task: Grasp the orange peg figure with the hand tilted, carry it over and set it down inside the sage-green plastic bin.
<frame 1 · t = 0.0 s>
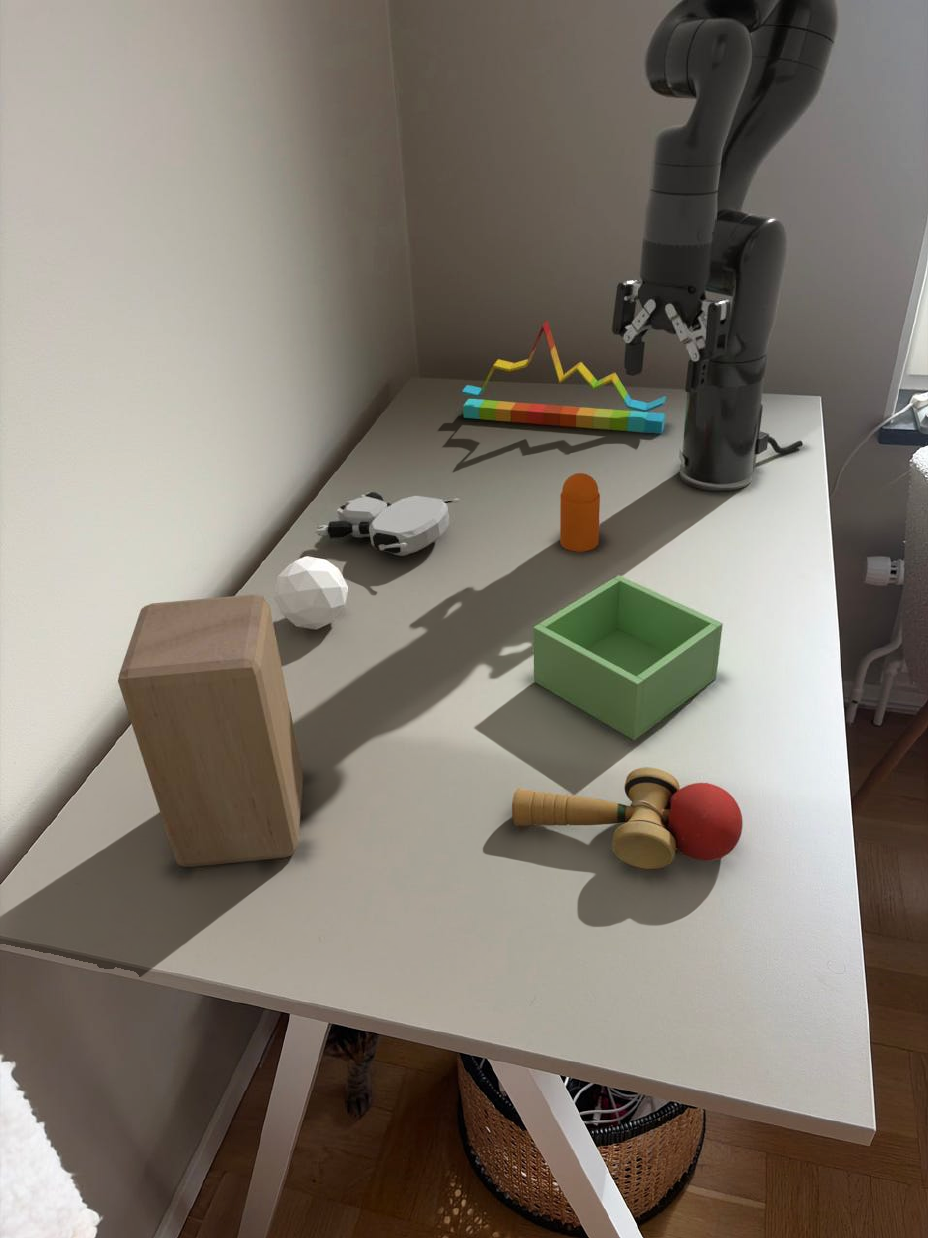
hand: (662, 382, 113), 17 cm above the table, tool pointing down, fingers open, 8 cm apart
orange peg figure: (579, 542, 118), on the table
bin: (624, 679, 96), on the table
block: (244, 823, 83), on the table
chart: (562, 422, 148), on the table
robot toy: (390, 539, 121), on the table
geometric ball: (316, 622, 107), on the table
kendama: (622, 839, 79), on the table
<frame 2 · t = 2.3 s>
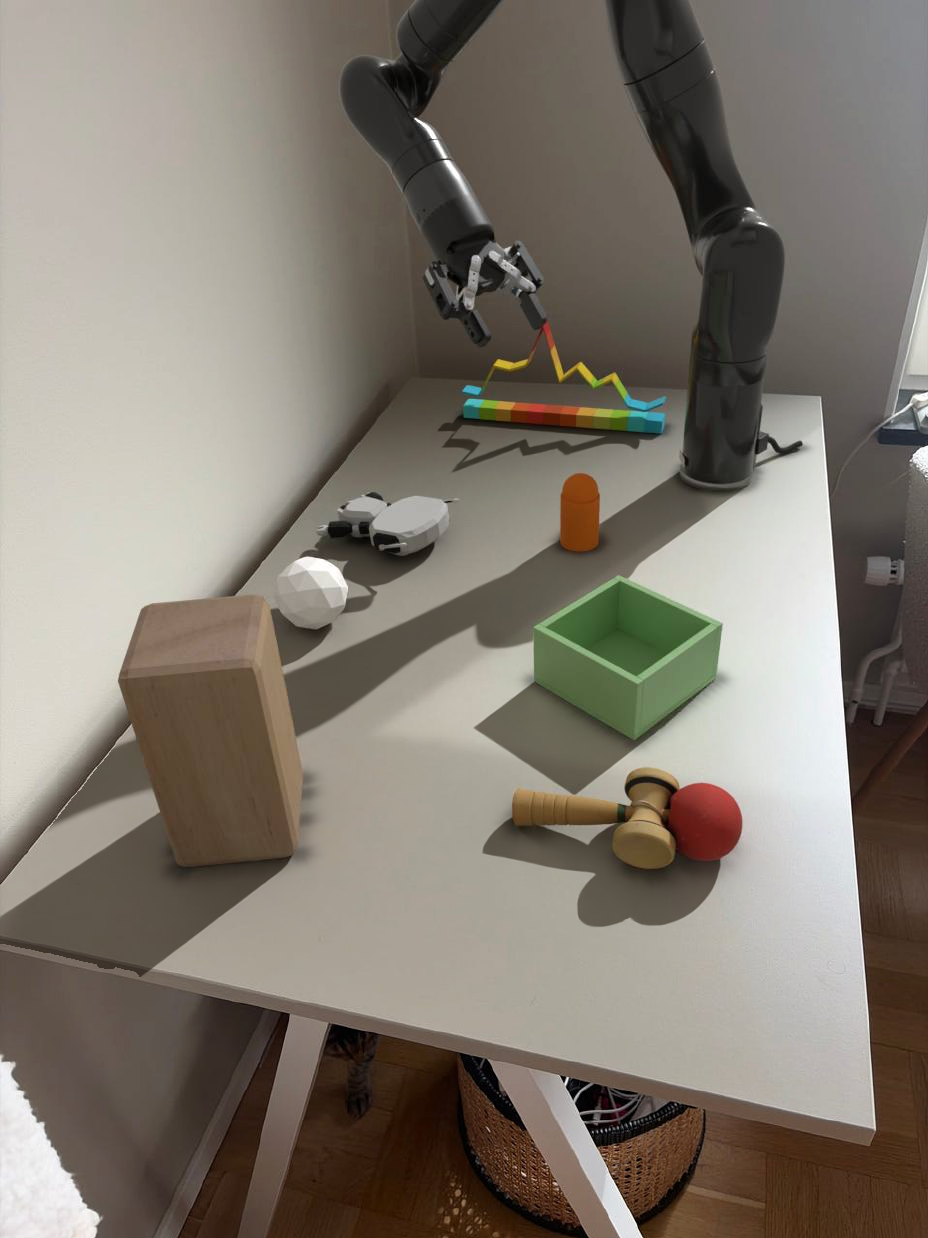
hand: (514, 334, 112), 23 cm above the table, tool tilted 45°, fingers open, 8 cm apart
nothing on the table moved.
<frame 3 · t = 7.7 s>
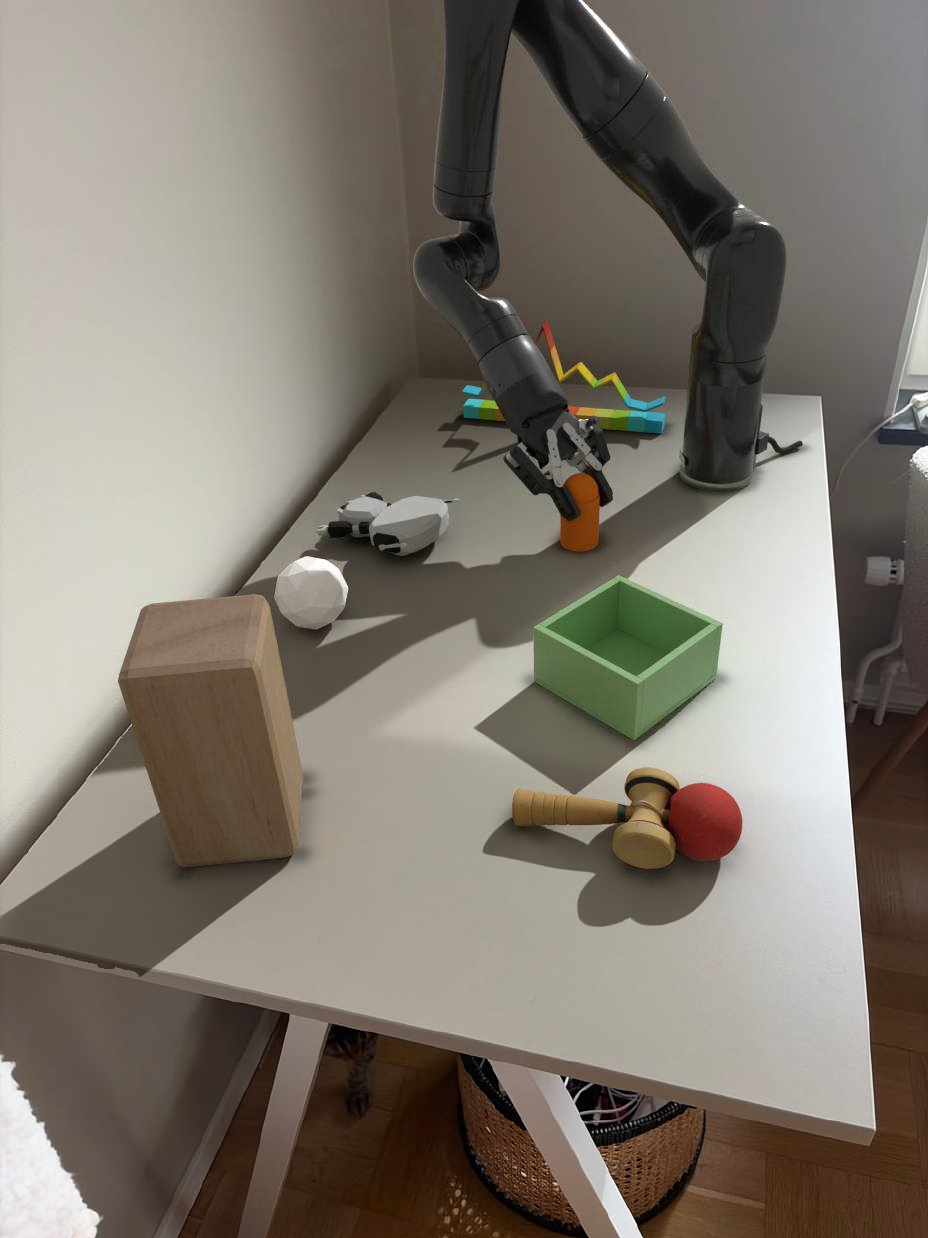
hand: (591, 510, 114), 5 cm above the table, tool tilted 45°, fingers closed on orange peg figure, 4 cm apart
orange peg figure: (579, 542, 118), on the table, touching gripper
everything else where it was.
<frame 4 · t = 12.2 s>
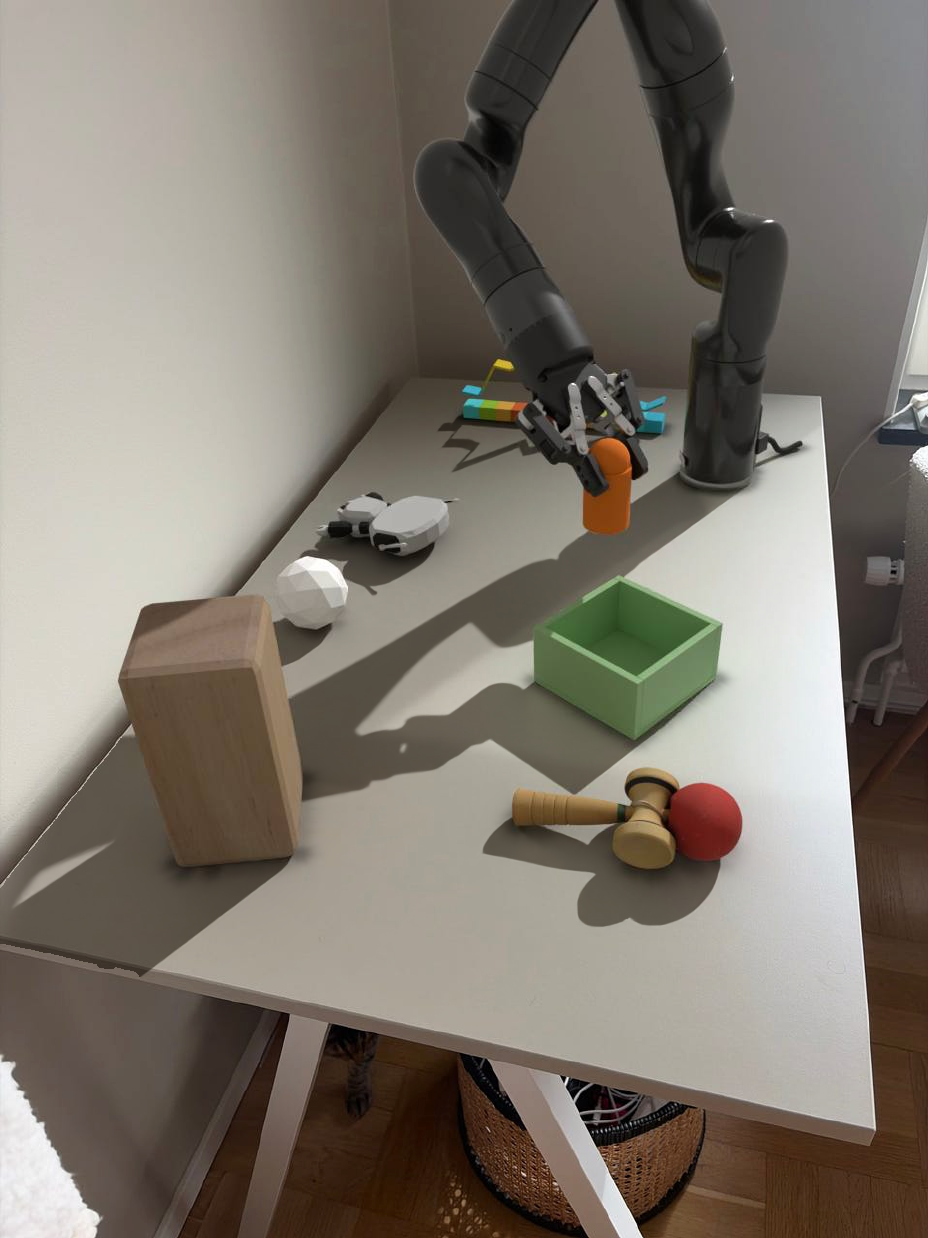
hand: (621, 483, 93), 17 cm above the table, tool tilted 45°, fingers closed on orange peg figure, 4 cm apart
orange peg figure: (605, 523, 97), point 12 cm above the table, touching gripper
everything else where it was.
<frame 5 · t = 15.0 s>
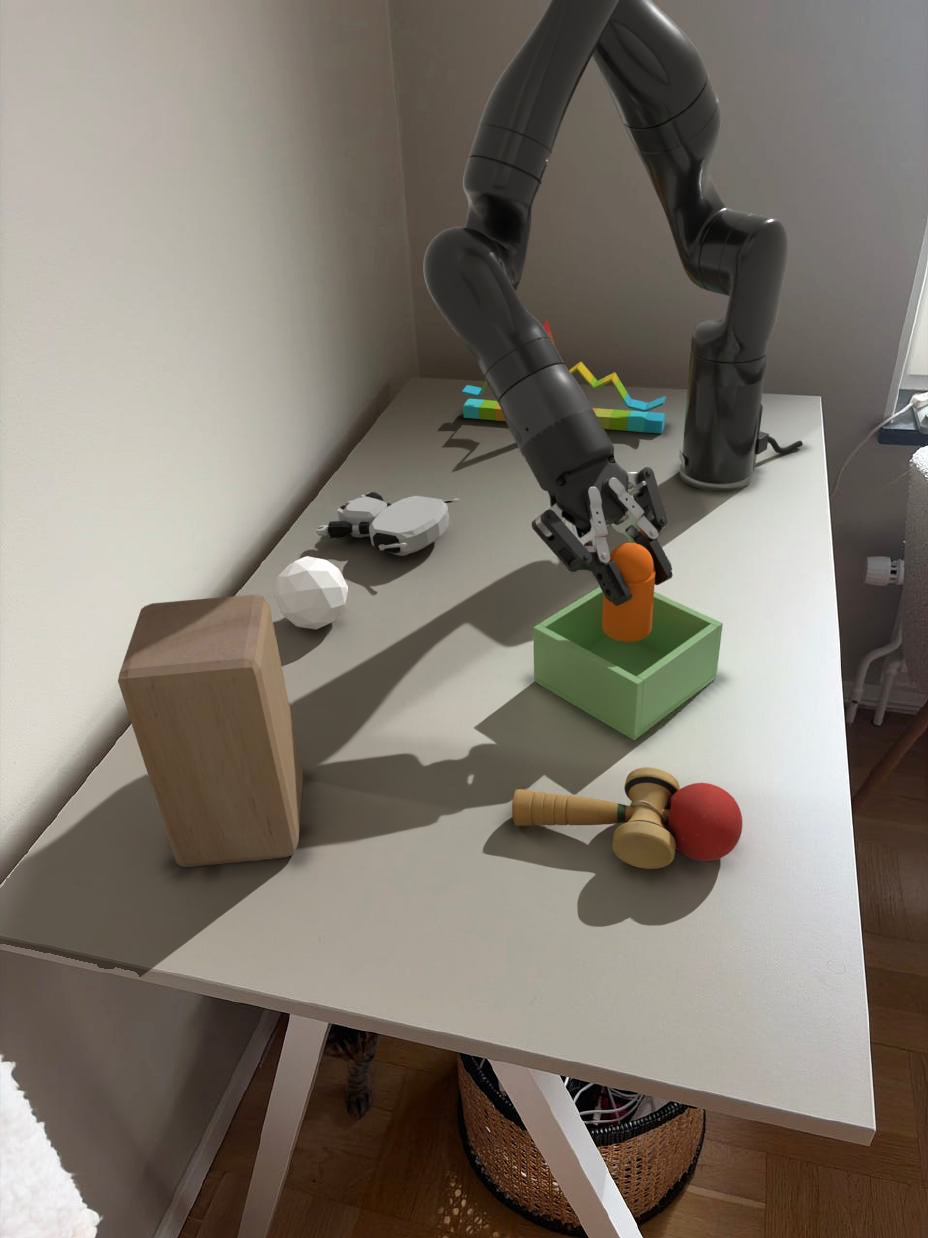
hand: (644, 590, 88), 11 cm above the table, tool tilted 45°, fingers closed on orange peg figure, 4 cm apart
orange peg figure: (626, 627, 92), point 6 cm above the table, touching gripper
everything else where it was.
when the fingers open (6 cm above the table, at t = 17.1 s): orange peg figure stays where it is, resting on bin.
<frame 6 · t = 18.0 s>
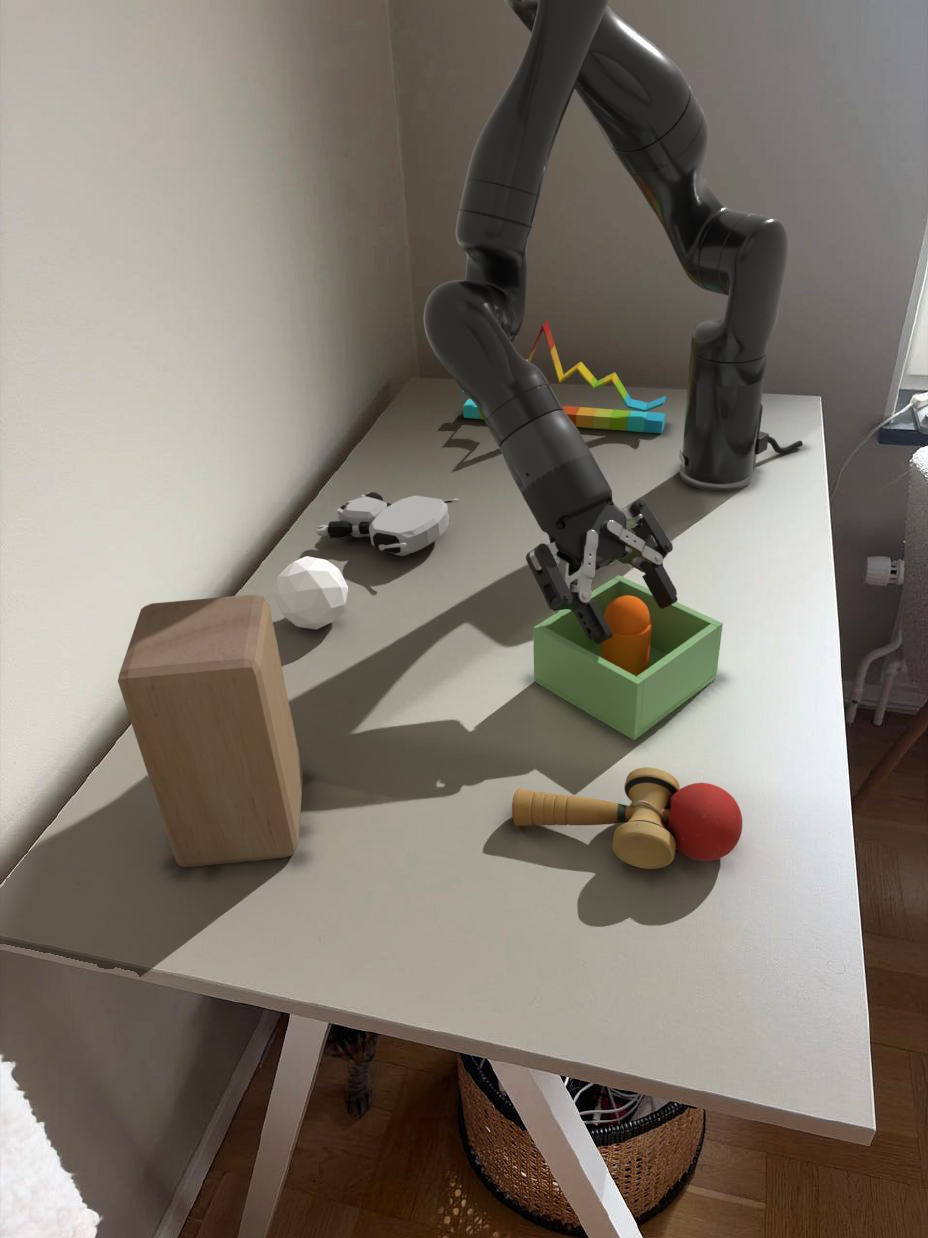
hand: (638, 622, 91), 8 cm above the table, tool tilted 45°, fingers open, 8 cm apart
orange peg figure: (623, 675, 96), point 1 cm above the table, touching bin
everything else where it was.
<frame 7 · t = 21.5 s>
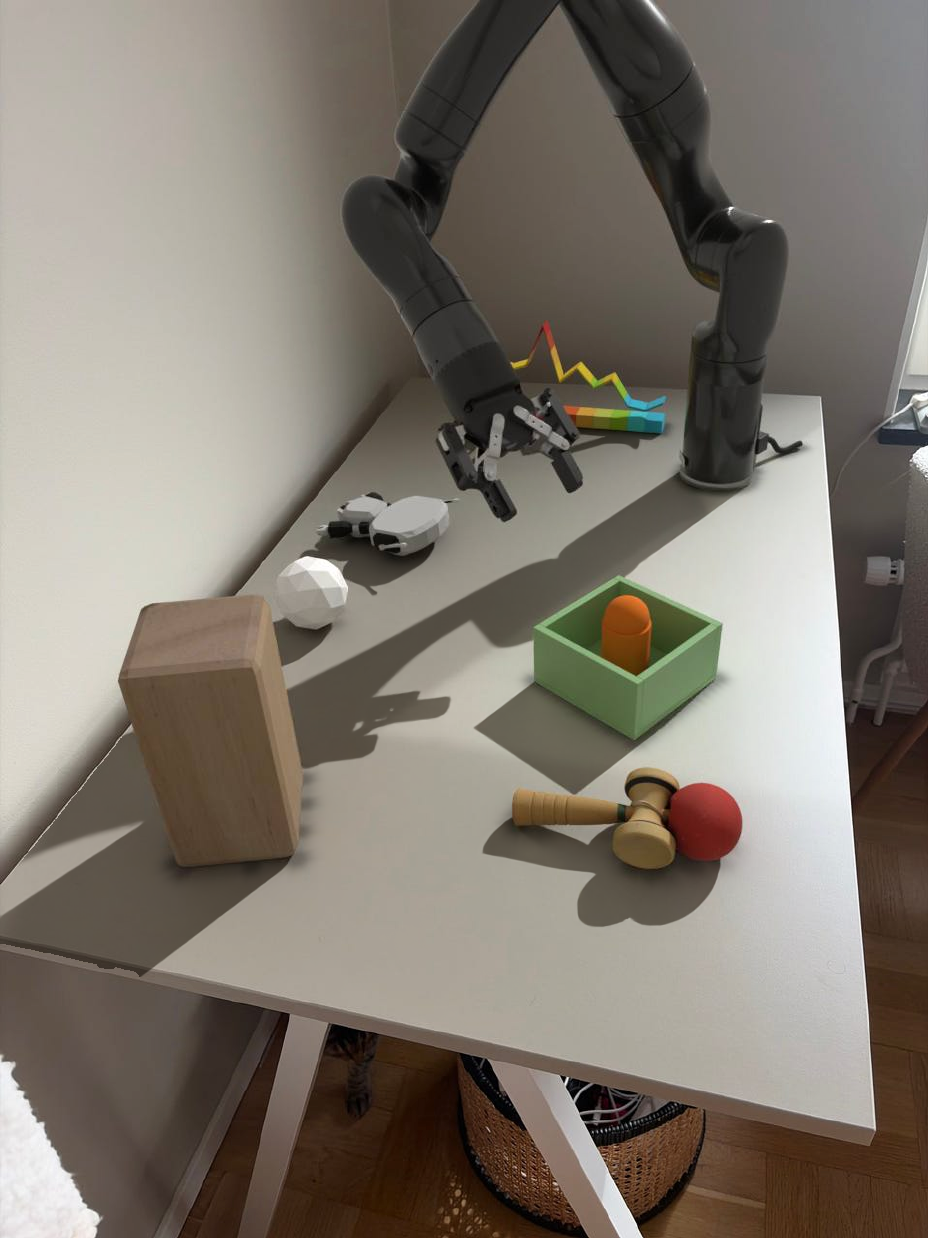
hand: (544, 503, 95), 15 cm above the table, tool tilted 45°, fingers open, 8 cm apart
nothing on the table moved.
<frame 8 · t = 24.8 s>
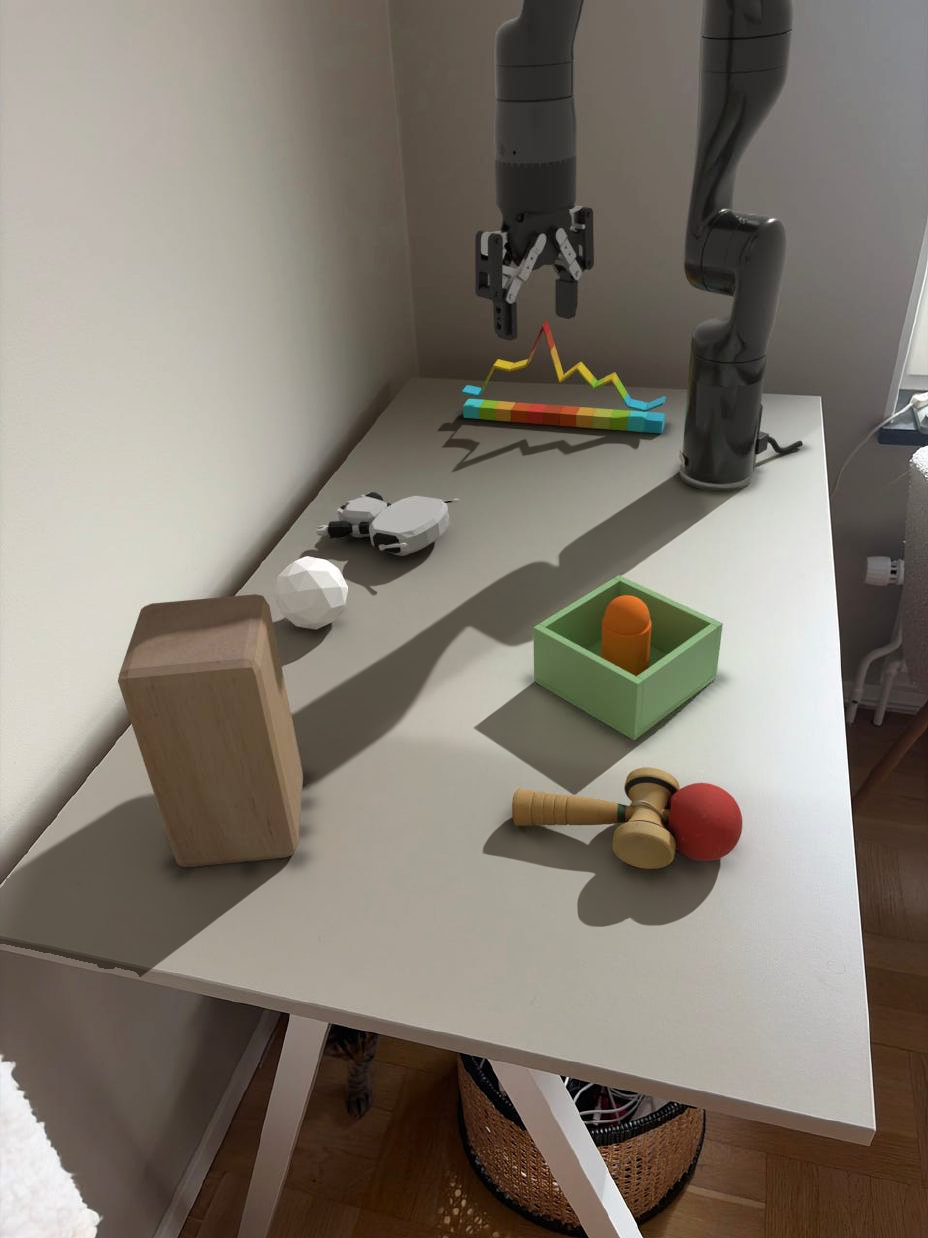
hand: (537, 327, 98), 28 cm above the table, tool pointing down, fingers open, 8 cm apart
nothing on the table moved.
at the end: orange peg figure inside the target area in the bin (0.1 cm from its centre), point 0.6 cm above the bin's base; the gripper is holding nothing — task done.
